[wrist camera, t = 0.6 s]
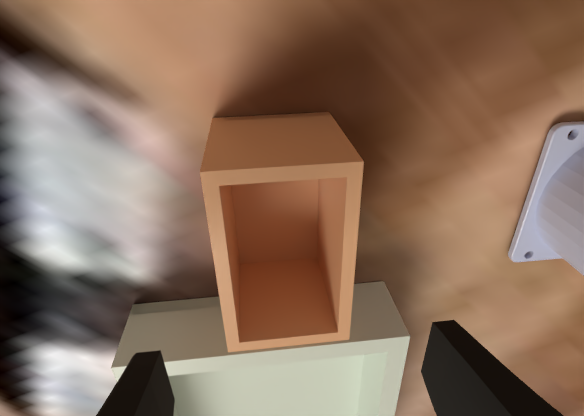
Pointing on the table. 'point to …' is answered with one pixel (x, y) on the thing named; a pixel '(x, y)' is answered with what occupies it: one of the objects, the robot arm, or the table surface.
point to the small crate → (282, 227)
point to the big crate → (273, 361)
